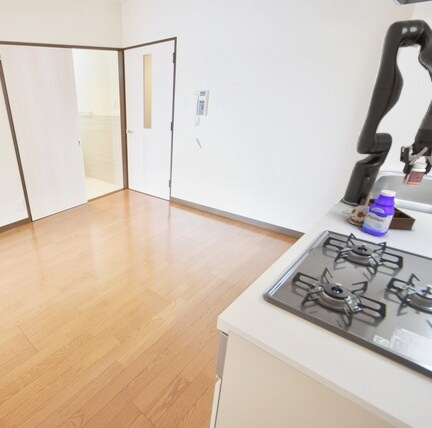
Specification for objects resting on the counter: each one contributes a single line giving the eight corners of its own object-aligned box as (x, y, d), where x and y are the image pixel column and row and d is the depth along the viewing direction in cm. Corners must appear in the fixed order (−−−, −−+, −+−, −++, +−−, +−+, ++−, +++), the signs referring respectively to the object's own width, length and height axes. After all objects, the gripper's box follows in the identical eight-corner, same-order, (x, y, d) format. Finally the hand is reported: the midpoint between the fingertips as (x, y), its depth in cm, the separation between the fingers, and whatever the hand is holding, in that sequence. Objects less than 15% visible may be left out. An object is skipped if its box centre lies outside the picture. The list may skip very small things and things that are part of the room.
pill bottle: (422, 186, 105) (432, 164, 101) (411, 187, 104) (421, 165, 101) (408, 182, 109) (417, 161, 106) (398, 183, 109) (406, 162, 105)
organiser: (358, 207, 131) (361, 198, 129) (377, 208, 129) (381, 198, 127) (388, 229, 112) (392, 218, 110) (410, 230, 110) (415, 219, 108)
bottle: (358, 230, 112) (372, 190, 105) (366, 227, 114) (381, 187, 107) (379, 238, 106) (397, 196, 99) (388, 235, 108) (405, 193, 101)
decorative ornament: (343, 220, 121) (354, 187, 114) (359, 218, 121) (371, 186, 115) (359, 228, 114) (371, 194, 107) (376, 226, 114) (390, 192, 108)
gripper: (450, 125, 100) (430, 171, 107) (402, 126, 103) (385, 170, 110) (469, 128, 93) (446, 177, 100) (417, 129, 96) (398, 176, 103)
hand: (414, 173), depth 105 cm, fingers closed on pill bottle, 4 cm apart
